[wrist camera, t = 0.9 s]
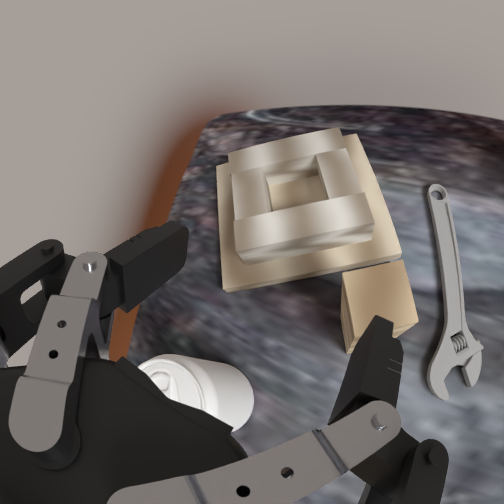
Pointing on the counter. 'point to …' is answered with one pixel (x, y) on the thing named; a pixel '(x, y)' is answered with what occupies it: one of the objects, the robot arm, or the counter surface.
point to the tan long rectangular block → (376, 300)
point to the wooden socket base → (300, 211)
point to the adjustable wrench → (450, 305)
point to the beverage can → (203, 386)
